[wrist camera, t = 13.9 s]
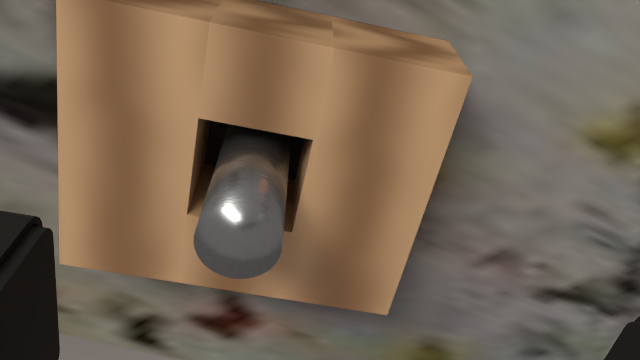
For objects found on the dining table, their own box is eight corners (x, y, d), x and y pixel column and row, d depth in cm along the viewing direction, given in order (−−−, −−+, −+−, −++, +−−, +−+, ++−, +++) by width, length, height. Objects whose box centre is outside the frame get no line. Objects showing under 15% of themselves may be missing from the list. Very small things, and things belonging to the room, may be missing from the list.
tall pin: (297, 108, 36) (289, 215, 26) (285, 164, 38) (274, 284, 27) (232, 96, 35) (198, 199, 25) (224, 153, 37) (189, 271, 27)
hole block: (448, 41, 34) (472, 76, 29) (378, 256, 42) (387, 315, 36) (98, -34, 32) (56, -10, 26) (93, 208, 39) (59, 263, 34)
